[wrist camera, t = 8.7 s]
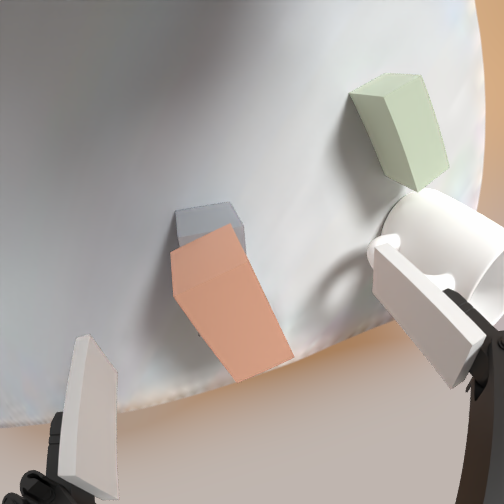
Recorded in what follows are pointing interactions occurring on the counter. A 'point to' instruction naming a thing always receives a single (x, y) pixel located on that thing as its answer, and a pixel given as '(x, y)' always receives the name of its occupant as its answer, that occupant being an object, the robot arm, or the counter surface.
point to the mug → (449, 247)
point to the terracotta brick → (228, 304)
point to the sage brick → (402, 128)
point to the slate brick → (207, 222)
